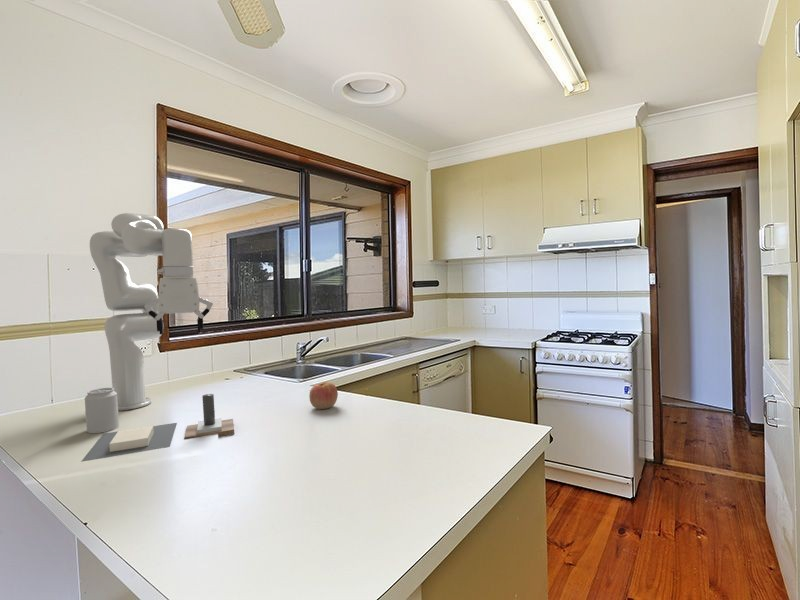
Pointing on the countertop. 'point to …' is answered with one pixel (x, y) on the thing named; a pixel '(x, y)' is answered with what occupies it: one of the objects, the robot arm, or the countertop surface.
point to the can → (101, 410)
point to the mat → (158, 440)
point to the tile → (131, 438)
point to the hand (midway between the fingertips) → (180, 332)
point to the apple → (323, 395)
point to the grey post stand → (209, 416)
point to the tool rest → (226, 430)
